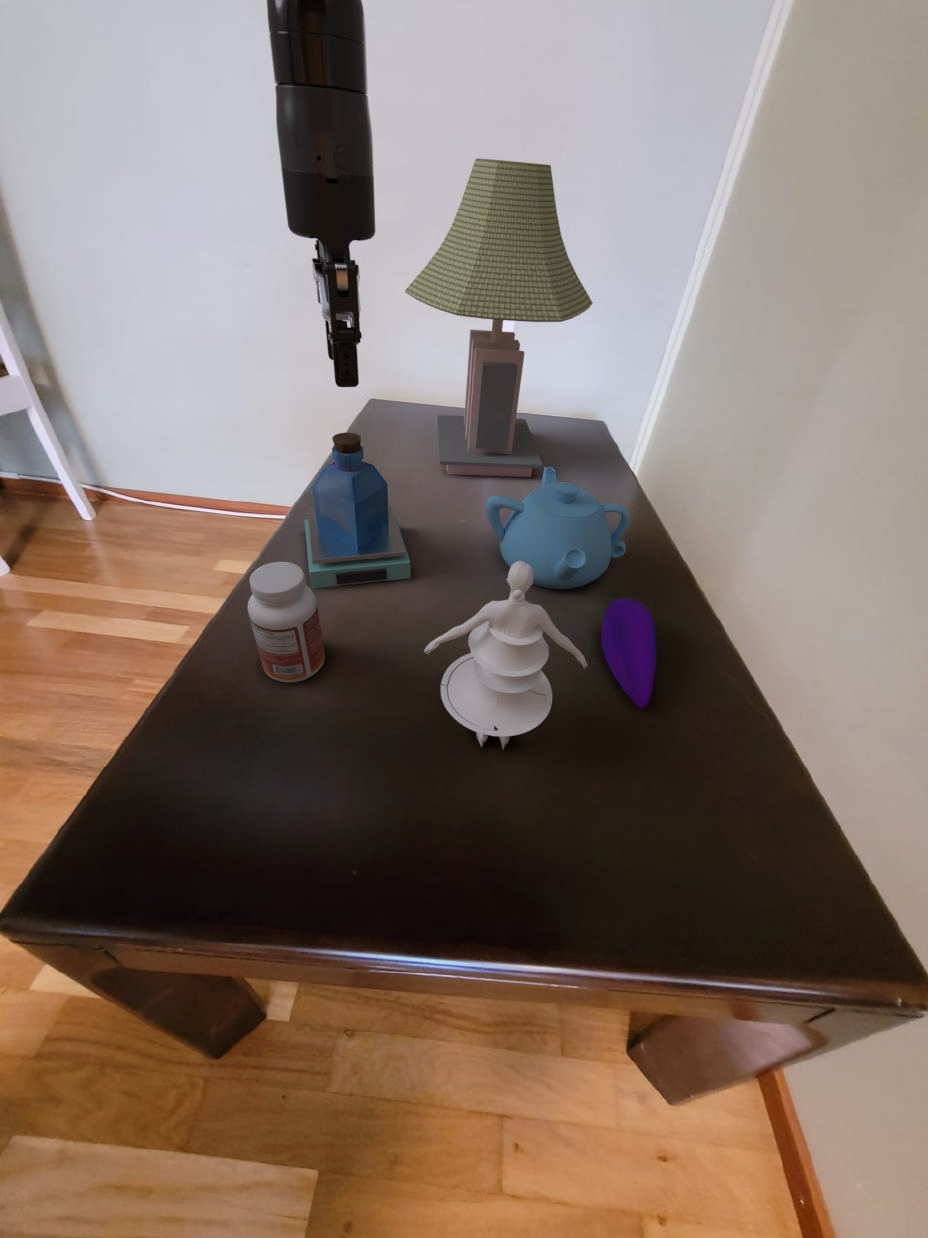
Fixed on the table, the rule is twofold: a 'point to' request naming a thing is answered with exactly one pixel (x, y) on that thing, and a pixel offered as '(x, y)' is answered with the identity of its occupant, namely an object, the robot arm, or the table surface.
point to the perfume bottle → (350, 496)
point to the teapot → (558, 533)
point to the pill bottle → (285, 622)
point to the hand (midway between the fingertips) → (342, 371)
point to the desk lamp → (499, 306)
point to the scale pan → (338, 552)
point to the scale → (357, 569)
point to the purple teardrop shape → (630, 648)
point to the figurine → (503, 664)
